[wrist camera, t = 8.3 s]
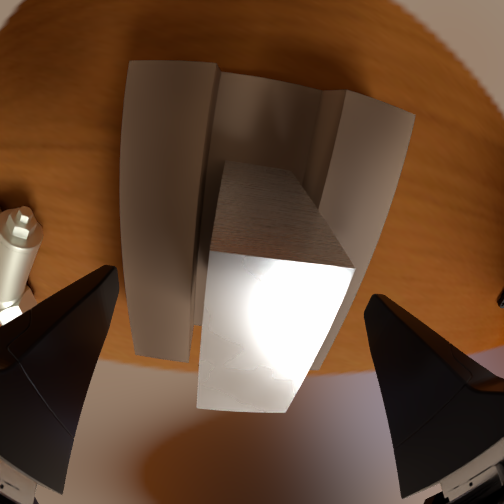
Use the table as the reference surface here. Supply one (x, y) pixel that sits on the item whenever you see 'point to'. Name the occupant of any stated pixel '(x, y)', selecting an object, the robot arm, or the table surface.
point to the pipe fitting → (17, 260)
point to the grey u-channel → (211, 170)
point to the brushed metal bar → (266, 291)
